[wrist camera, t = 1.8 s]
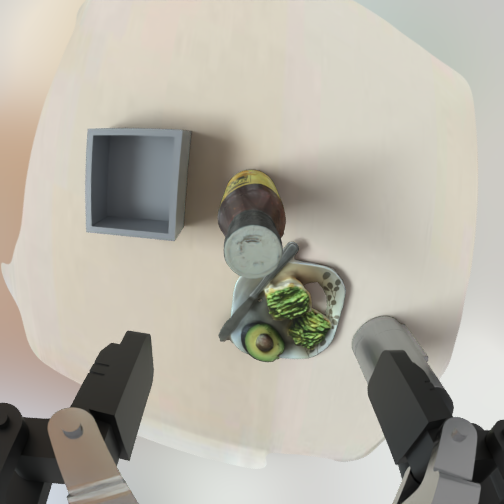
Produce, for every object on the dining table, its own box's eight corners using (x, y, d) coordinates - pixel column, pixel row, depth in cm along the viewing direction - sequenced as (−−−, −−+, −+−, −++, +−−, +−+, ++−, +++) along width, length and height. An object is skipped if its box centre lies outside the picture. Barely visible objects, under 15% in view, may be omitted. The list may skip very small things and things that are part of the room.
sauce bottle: (239, 160, 38) (235, 181, 19) (283, 182, 39) (320, 224, 20) (216, 205, 40) (193, 267, 21) (260, 226, 41) (273, 303, 22)
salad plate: (232, 229, 41) (230, 240, 37) (357, 247, 43) (369, 259, 38) (217, 346, 48) (215, 365, 44) (323, 355, 49) (330, 373, 45)
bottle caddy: (191, 131, 36) (182, 129, 31) (183, 226, 41) (174, 241, 35) (107, 128, 35) (87, 128, 30) (104, 219, 40) (86, 232, 34)
